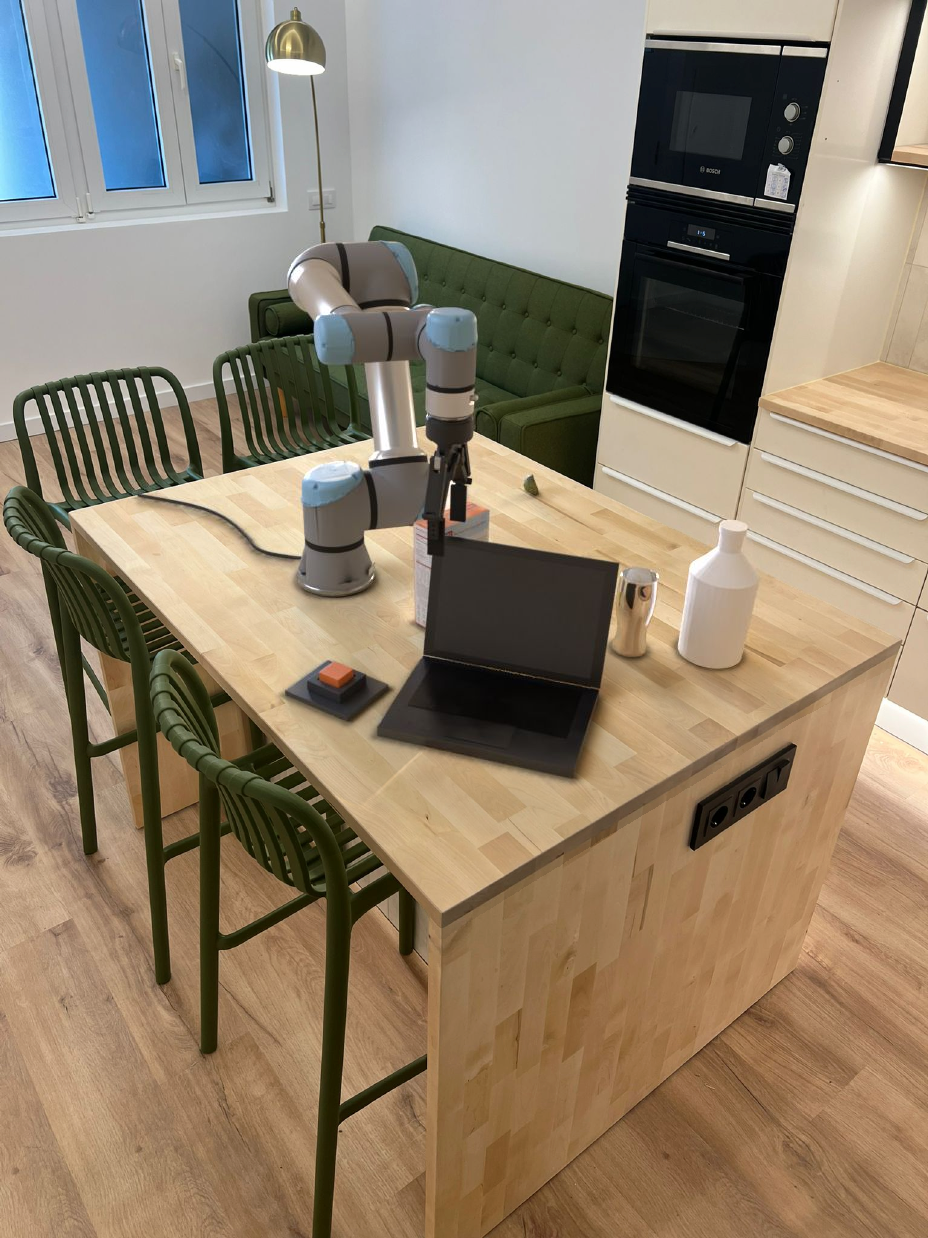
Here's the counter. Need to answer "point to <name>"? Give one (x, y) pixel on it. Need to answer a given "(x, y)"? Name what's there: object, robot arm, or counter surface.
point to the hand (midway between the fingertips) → (447, 537)
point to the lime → (531, 485)
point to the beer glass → (634, 609)
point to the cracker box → (471, 529)
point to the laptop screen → (521, 610)
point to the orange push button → (337, 693)
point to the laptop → (492, 715)
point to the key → (336, 674)
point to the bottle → (719, 602)
